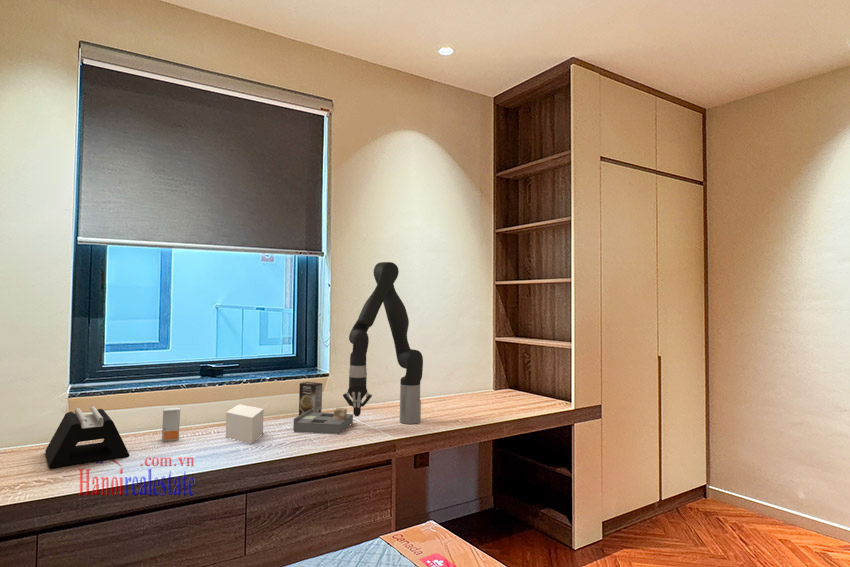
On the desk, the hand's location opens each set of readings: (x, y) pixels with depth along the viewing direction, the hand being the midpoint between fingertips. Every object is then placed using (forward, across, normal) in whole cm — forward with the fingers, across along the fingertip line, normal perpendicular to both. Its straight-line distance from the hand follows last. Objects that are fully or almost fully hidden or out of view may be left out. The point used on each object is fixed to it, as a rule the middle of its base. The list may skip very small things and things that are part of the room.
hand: (357, 416), depth 220 cm
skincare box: (+6, -67, -30) cm, 73 cm away
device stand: (+6, -83, -53) cm, 98 cm away
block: (+2, -8, 0) cm, 8 cm away
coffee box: (+6, -28, +18) cm, 34 cm away
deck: (+6, -15, 0) cm, 16 cm away
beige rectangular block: (+6, -42, -19) cm, 46 cm away
